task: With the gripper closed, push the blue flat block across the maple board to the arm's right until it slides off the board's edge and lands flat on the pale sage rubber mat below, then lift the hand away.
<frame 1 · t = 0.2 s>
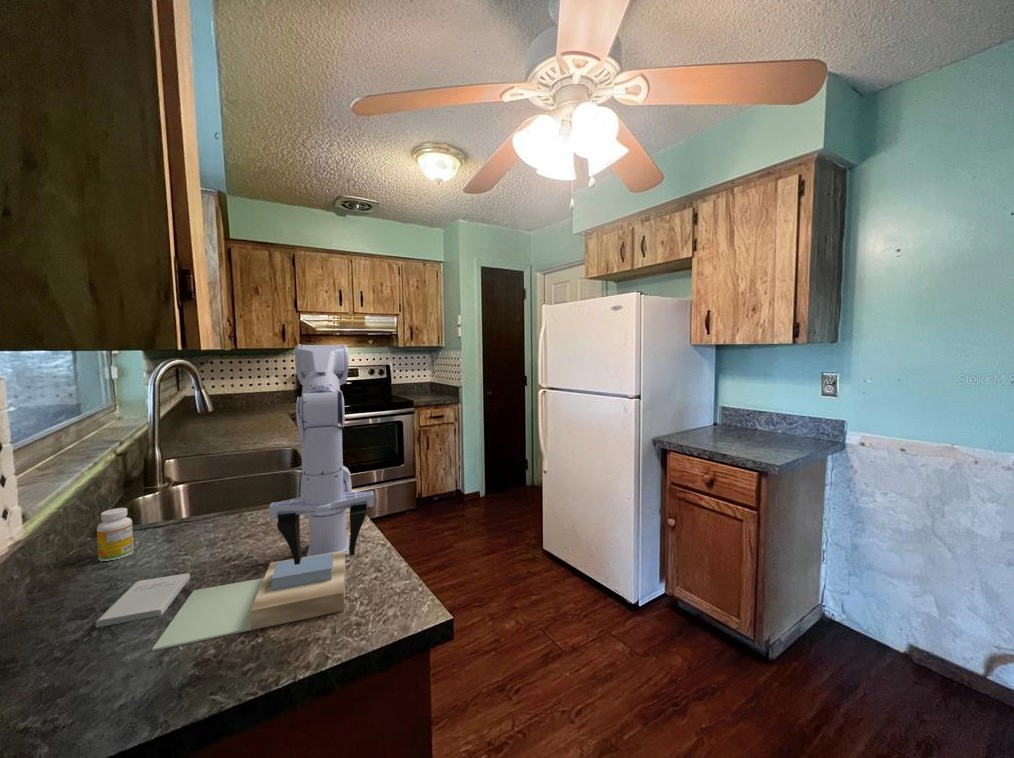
hand: (325, 557, 63), 10 cm above the countertop, fingers open, 7 cm apart
external hard drive: (148, 604, 70), on the countertop
supplement bottle: (116, 557, 86), on the countertop
board: (304, 593, 71), on the countertop
blue flat block: (304, 576, 71), point 3 cm above the countertop, touching board
mat: (220, 609, 67), on the countertop
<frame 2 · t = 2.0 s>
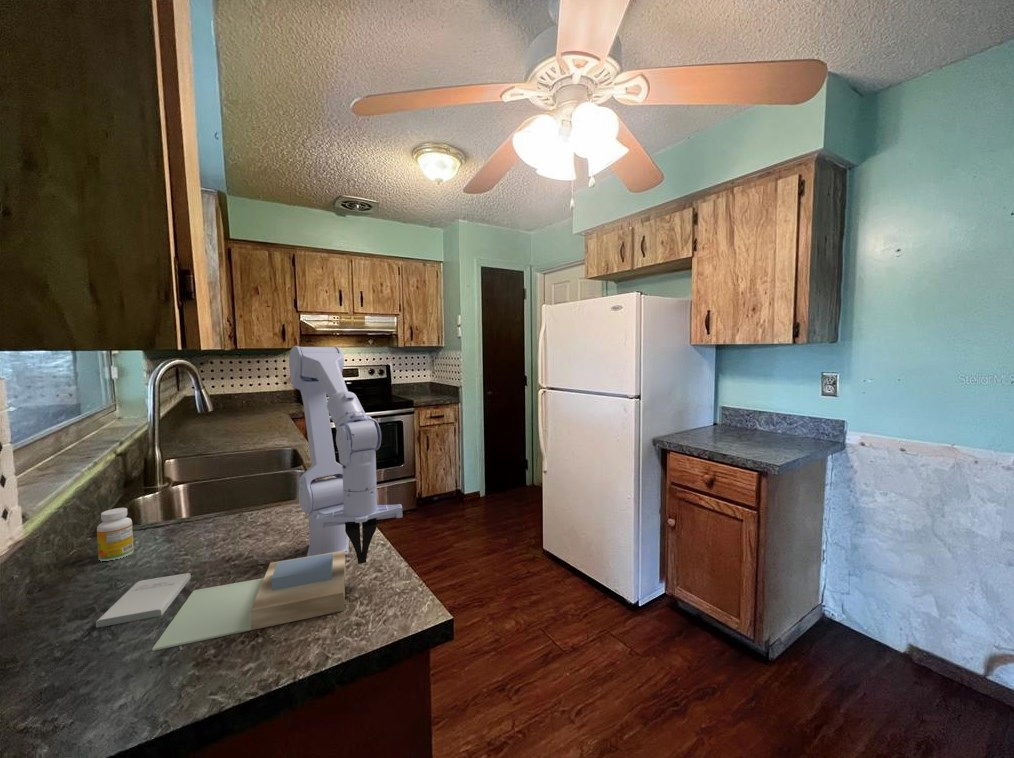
hand: (362, 560, 74), 4 cm above the countertop, fingers closed
nothing on the countertop moved.
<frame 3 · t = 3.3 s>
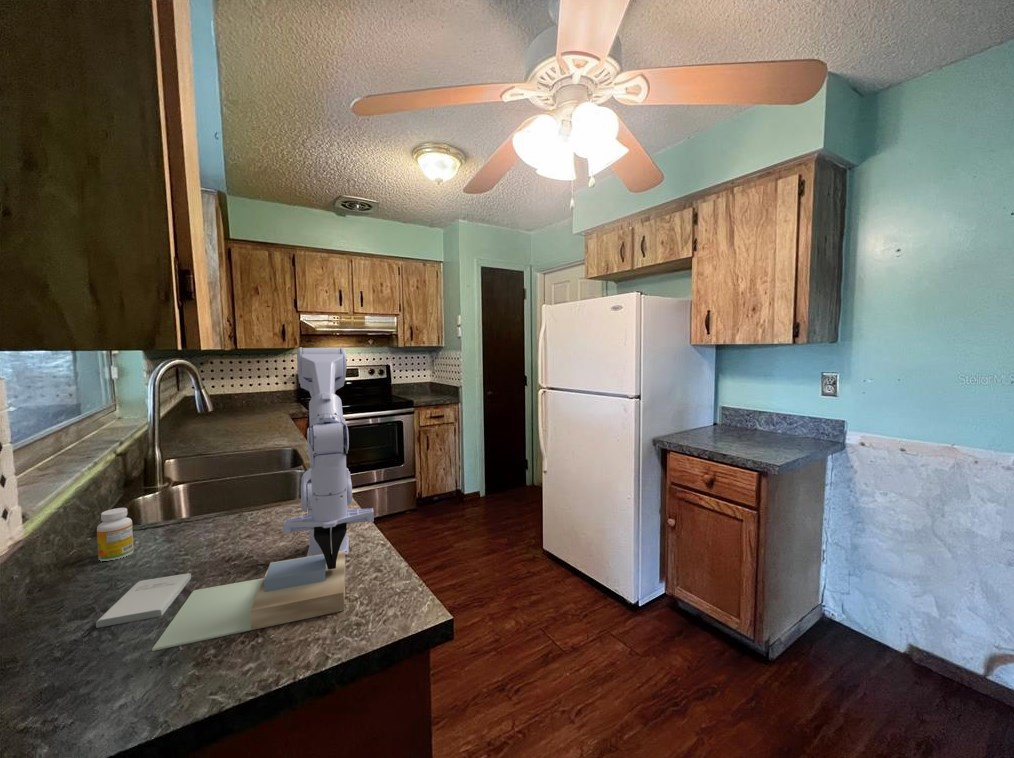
hand: (331, 566, 73), 4 cm above the countertop, fingers closed
blue flat block: (297, 577, 71), point 3 cm above the countertop, touching gripper
everything else where it was.
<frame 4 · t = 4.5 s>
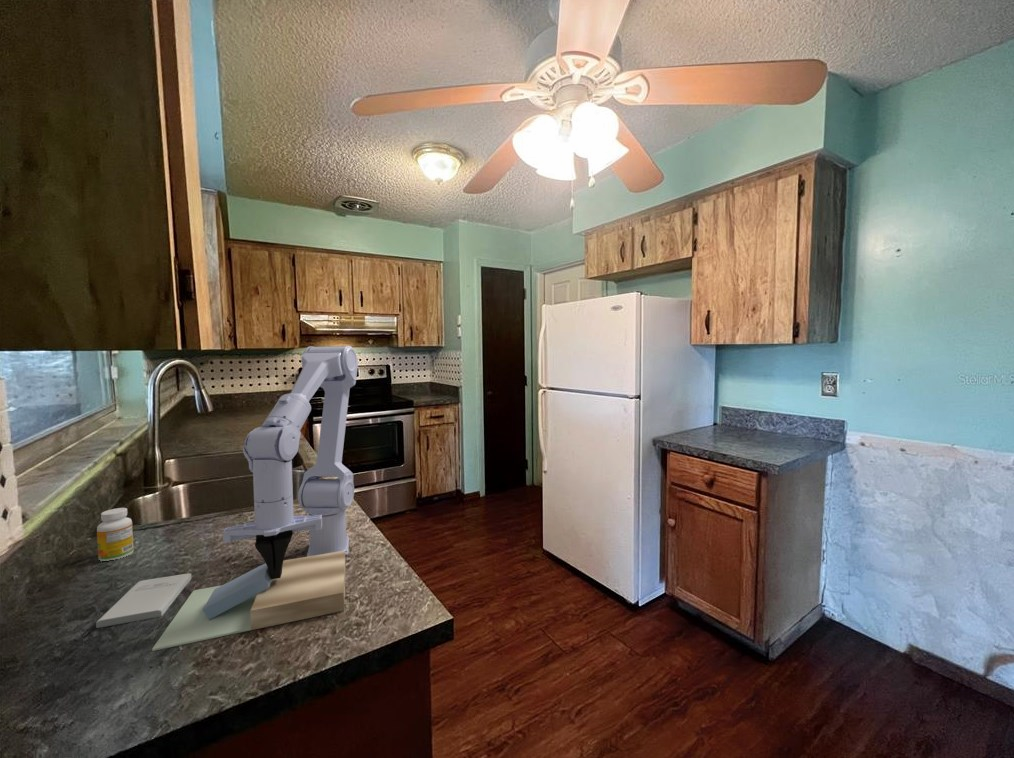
hand: (276, 576, 69), 4 cm above the countertop, fingers closed
blue flat block: (244, 593, 68), point 2 cm above the countertop, tilted 22°, touching board
everything else where it was.
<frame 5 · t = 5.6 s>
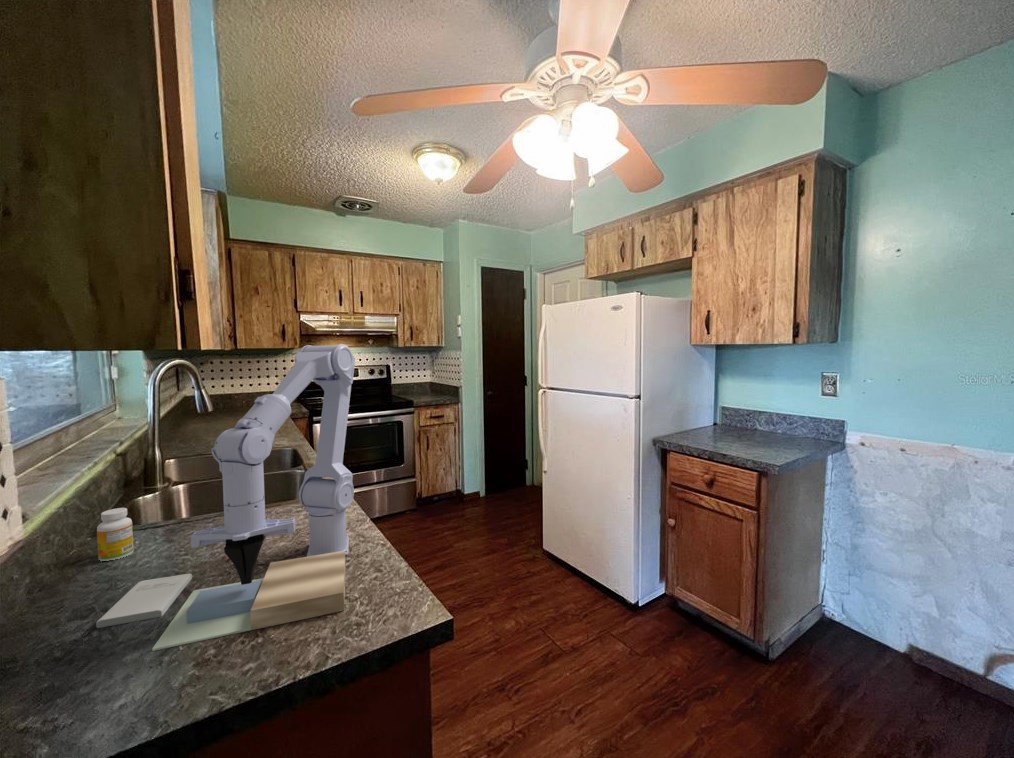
hand: (247, 581, 68), 4 cm above the countertop, fingers closed
blue flat block: (227, 606, 67), resting on mat
everything else where it was.
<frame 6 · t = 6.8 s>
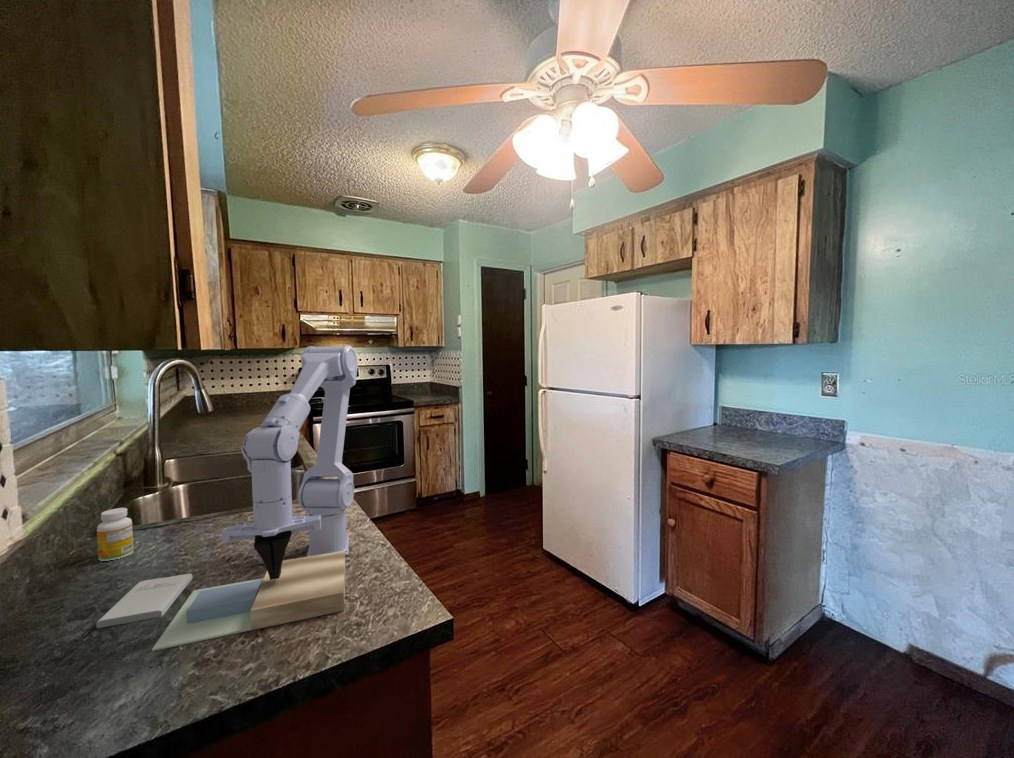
hand: (275, 576, 69), 4 cm above the countertop, fingers closed
nothing on the countertop moved.
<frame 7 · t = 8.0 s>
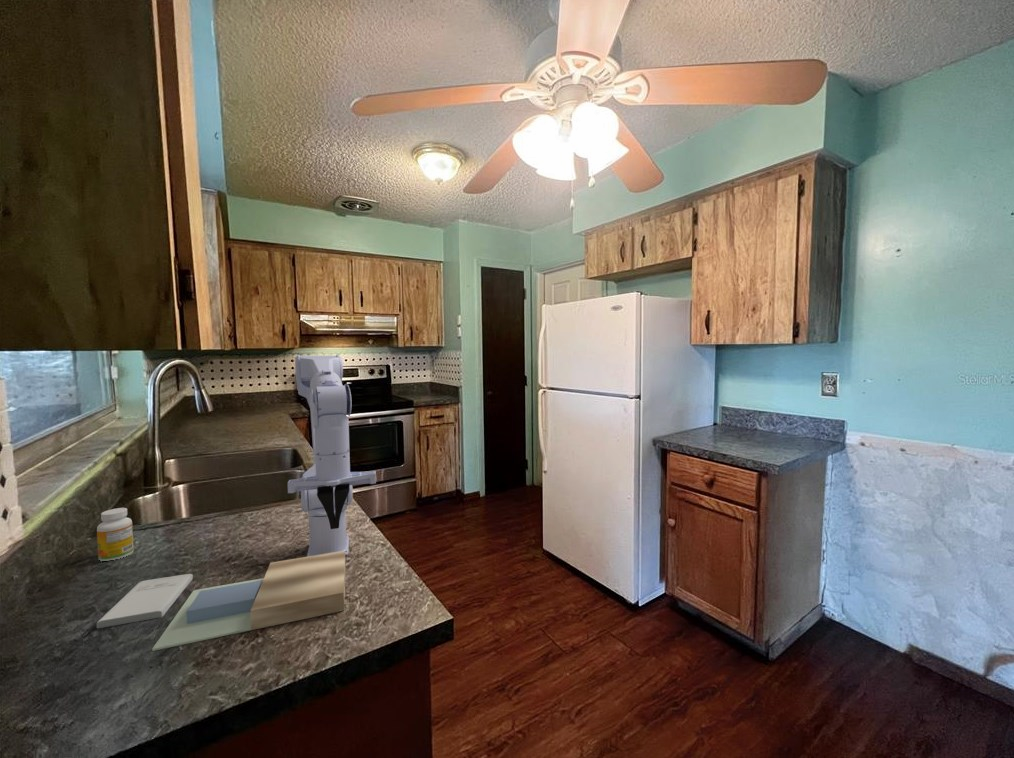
hand: (335, 526, 74), 10 cm above the countertop, fingers closed
nothing on the countertop moved.
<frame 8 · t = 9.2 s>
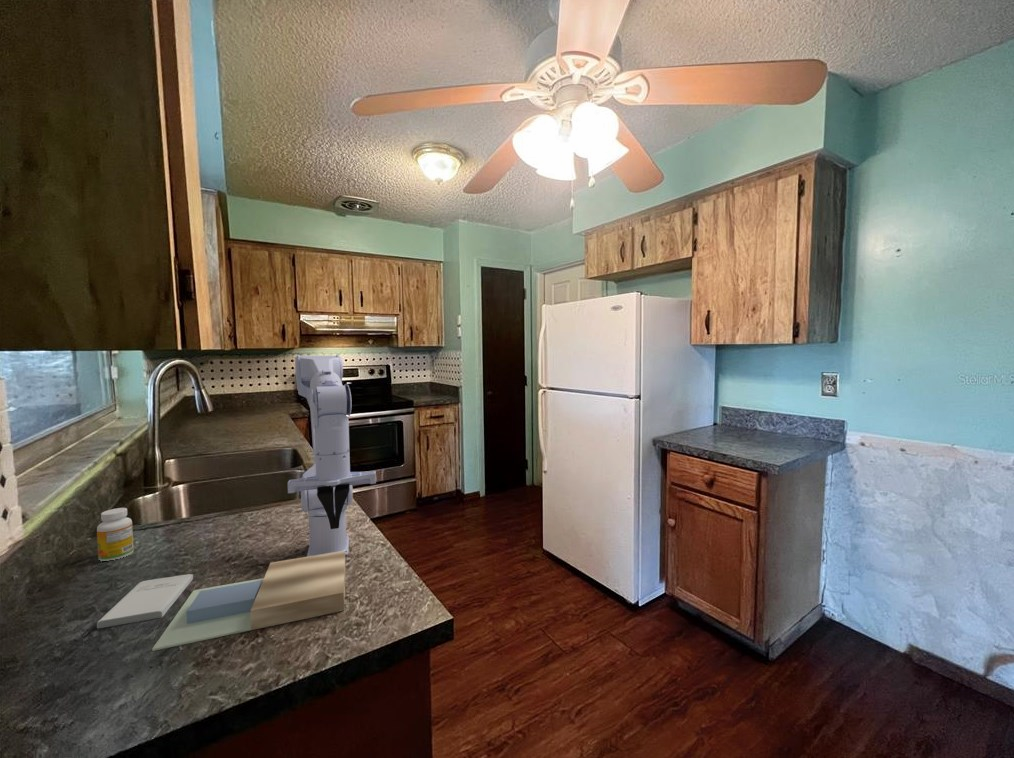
hand: (335, 526, 74), 10 cm above the countertop, fingers closed
nothing on the countertop moved.
at the end: blue flat block inside the target area on the mat (1.8 cm from its centre), point 0.3 cm above the mat's base; blue flat block tilted 0° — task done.
